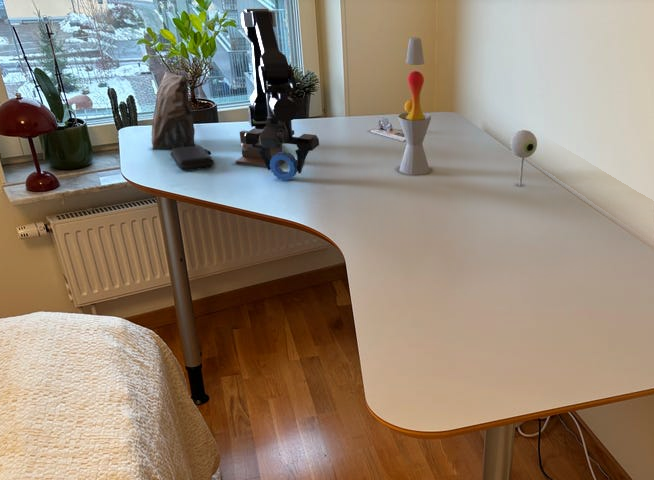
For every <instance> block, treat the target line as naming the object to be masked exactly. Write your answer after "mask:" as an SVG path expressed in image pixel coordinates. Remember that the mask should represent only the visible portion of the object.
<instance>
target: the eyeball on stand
mask: <svg viewBox="0 0 654 480" xmlns="http://www.w3.org/2000/svg"><path fill="white" fill-rule="evenodd" d="M537 147H538V139H537V138H536V135H535V134H534V133H533V132H532V131H531V130H526V129H522V130H518V131H517V132H515V133H514V134H513V136H511V138H510V150H511V151H512V154H514V155H515V156H516V157H518V158H520V169H519V181H518V186H519V187H521V186H522V183H523V172H524V161H525V159H526V158H529V157H531V156H532V155H534V153H535V152H536V151H537Z"/></svg>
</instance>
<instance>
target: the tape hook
mask: <svg viewBox="0 0 654 480" xmlns="http://www.w3.org/2000/svg"><path fill="white" fill-rule="evenodd" d="M248 131H249V130H240V131H239V140H240V149H241V155H242V156H241V157H239V158H237V159H236V160H235V164H236V165H240V166H250V167H258V168H259V167H260V168H266V169H268V168H267V166H266V164H265V162H264V160H263V158H262V156H261V154H260V153H259V151H258V150H256V149H255V148H252V147H251V145H250V144H245V139H244V136H245V134H246V133H247V132H248ZM283 147H284V146H283V143H282V144H281V145H280V148H278V149H273V148H271V159H272V157H273V156H274V155H276V154H277V153H279V152H284V148H283ZM284 163H287V162H286V161H284V160H281V159H280V160H279V166H280V167H281V165H283V164H284Z"/></svg>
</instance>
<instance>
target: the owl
mask: <svg viewBox="0 0 654 480" xmlns="http://www.w3.org/2000/svg"><path fill="white" fill-rule="evenodd" d="M187 82H188V77H186V76H185V75H180V74H174V73H173V72H172V71H168V70H166V71H165V73H164V75H163V76H162V79H161V82H160V84H159V87H158V88H157V91H156V96H155V105H154V110H153V116H152V122H151V145H152V150H153V151H154V150H159V151H160V150H161V151H172V150H173V149H174V148H182V147H193V146H197V145H196V144H195V133H196V132H195V131H196V129H195V126H194V117H193V113H192V104H191V101H190V99H189V87H188V83H187Z"/></svg>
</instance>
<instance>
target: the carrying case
mask: <svg viewBox="0 0 654 480" xmlns="http://www.w3.org/2000/svg"><path fill="white" fill-rule="evenodd" d="M169 155H170V157H171V158H172V160H173V162H174V164H175V165H176V166H177V168H179V170H181V171H183V172H185V171H186V172H187V171H196V170H203V169H204V170H205V169H211V168H212V166H213V165H215V161H214V159H213V157H212V152H211V150H208V149H206V148H203V146H200V145H196V146H193V147H182V148H174V149H173V150H170V153H169Z"/></svg>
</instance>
